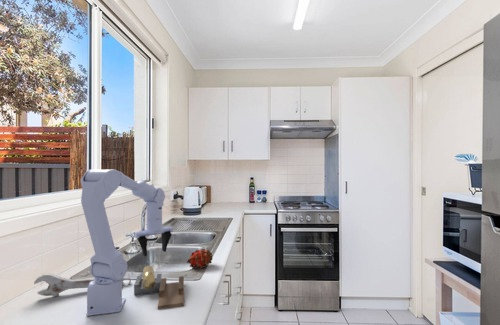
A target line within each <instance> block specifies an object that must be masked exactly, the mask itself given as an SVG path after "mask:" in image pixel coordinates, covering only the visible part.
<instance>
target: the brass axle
mask: <svg viewBox="0 0 500 325" xmlns="http://www.w3.org/2000/svg"><path fill="white" fill-rule="evenodd" d="M155 278H156V277H155V270H154V267H153V266H152V265H147V266H145V267H143V269H142V279H143V287H144V288H145V289H147V290H149V289H152V288H153V287H154V285H155Z"/></svg>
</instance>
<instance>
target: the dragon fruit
mask: <svg viewBox="0 0 500 325" xmlns="http://www.w3.org/2000/svg"><path fill="white" fill-rule="evenodd" d="M213 256H214V254H213V253H212V252H211V251H210V250H209V249H208V250H207V249H204V248H203V247H202V248H201V249H196V250H195V251H194V252H192V253H191V254H190V257H189V258H188V259H187V261H186V264H189V267H190V268H195V267H198V268H200V269H201V268H202V269H204V268H206V267H207V266H208V265H209V264H212V261H213ZM195 269H196V268H195Z"/></svg>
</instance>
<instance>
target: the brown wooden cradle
mask: <svg viewBox="0 0 500 325" xmlns="http://www.w3.org/2000/svg"><path fill="white" fill-rule="evenodd" d="M184 278H185V277H184V276H178V281H176V282H167V278H166V277H163V278H162V279H161V284H160V289H159V292H158V302H157V310H162V309H163V310H164V309H168V308H170V309H171V308H177V307H184V306H185V283H184V282H185V279H184Z"/></svg>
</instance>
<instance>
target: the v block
mask: <svg viewBox="0 0 500 325" xmlns="http://www.w3.org/2000/svg"><path fill="white" fill-rule="evenodd" d="M161 279H162V273H157V274H156V277H155V285H154V287H153V288H152V289H149V290H147V289H145V288H144V287H143V275H137V277H136V279H135V282H134V284H133V296H139V295H148V294H155V293H158V294H159V289H160V284H161Z"/></svg>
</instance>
